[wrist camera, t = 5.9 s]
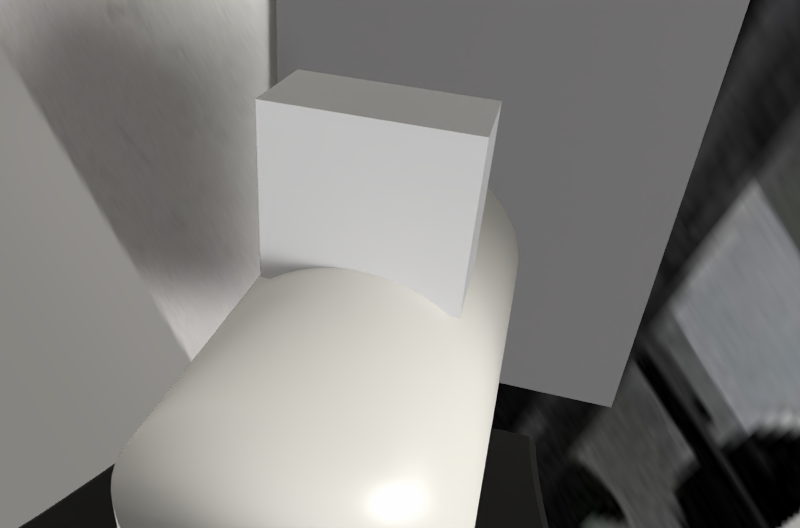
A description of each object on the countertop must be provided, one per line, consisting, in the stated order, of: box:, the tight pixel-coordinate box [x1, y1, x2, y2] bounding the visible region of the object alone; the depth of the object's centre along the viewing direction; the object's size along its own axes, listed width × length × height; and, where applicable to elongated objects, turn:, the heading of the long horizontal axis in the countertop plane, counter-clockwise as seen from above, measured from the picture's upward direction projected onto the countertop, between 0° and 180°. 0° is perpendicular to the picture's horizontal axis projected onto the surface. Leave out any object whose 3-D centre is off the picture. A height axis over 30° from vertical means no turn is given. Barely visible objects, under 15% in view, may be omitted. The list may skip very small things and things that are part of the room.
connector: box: [111, 69, 519, 528], centre depth 8 cm, size 10×3×5 cm, turn 175°
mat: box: [276, 0, 750, 407], centre depth 17 cm, size 11×10×1 cm
